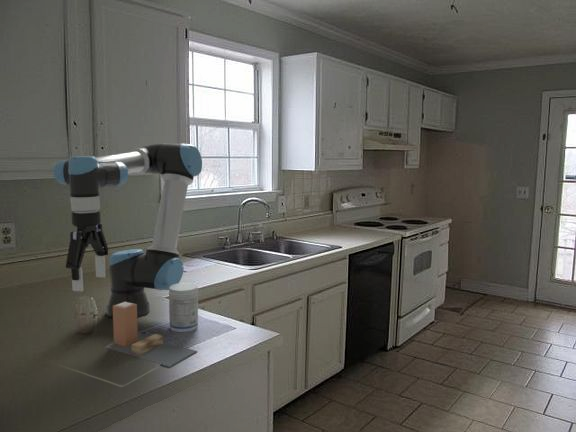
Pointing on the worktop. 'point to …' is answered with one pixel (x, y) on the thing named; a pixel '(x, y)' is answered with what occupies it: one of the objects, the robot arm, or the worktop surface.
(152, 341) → the ledge
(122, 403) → the worktop surface
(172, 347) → the mat
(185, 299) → the supplement tub
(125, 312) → the block
